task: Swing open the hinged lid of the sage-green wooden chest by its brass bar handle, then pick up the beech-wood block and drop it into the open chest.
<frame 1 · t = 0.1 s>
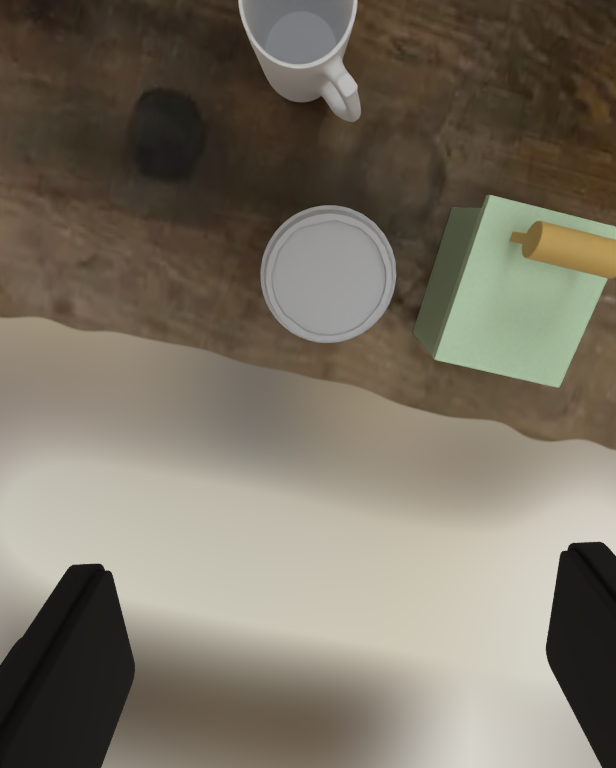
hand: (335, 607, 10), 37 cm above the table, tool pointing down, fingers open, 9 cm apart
lid: (539, 303, 34), point 11 cm above the table, hinge at 0.0°
mug: (313, 78, 39), on the table
chest: (485, 285, 45), on the table
disposable coffee cup: (324, 260, 44), on the table
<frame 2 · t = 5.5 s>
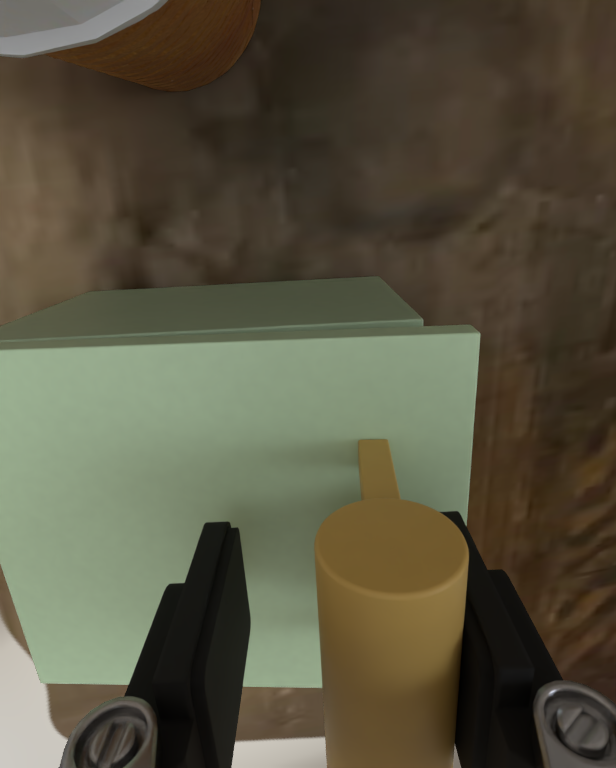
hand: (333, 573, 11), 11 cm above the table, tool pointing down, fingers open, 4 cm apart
lid: (198, 602, 11), point 11 cm above the table, hinge at 3.4°, touching gripper
chest: (246, 406, 21), on the table
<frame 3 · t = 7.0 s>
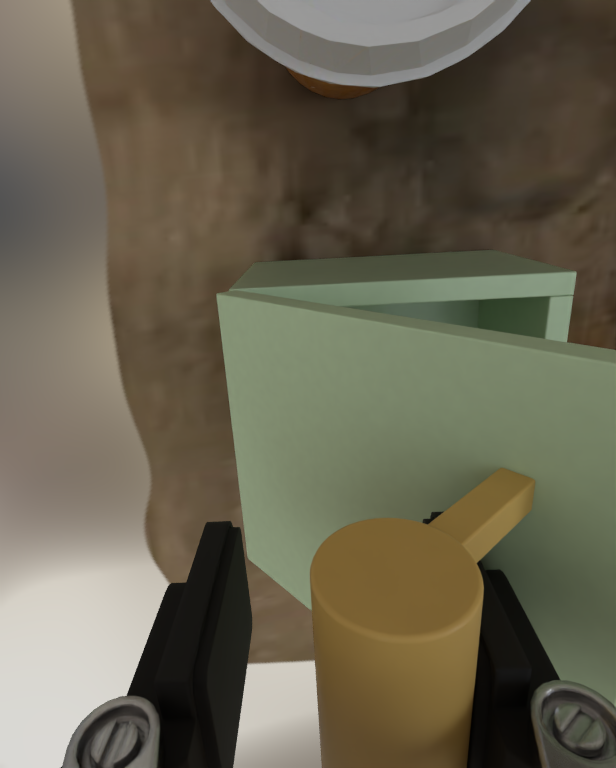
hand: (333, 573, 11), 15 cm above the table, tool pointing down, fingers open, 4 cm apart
lid: (306, 549, 12), point 15 cm above the table, hinge at 47.2°, touching gripper
chest: (373, 359, 25), on the table
disposable coffee cup: (343, 13, 20), on the table
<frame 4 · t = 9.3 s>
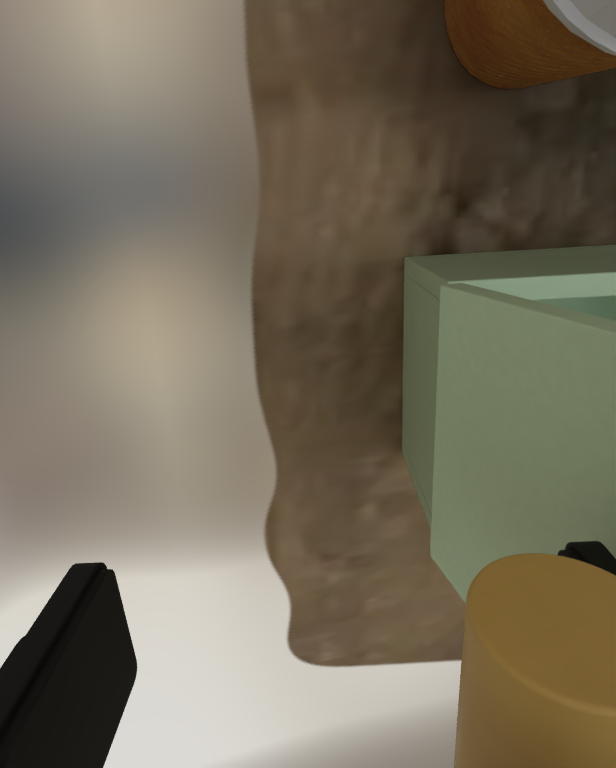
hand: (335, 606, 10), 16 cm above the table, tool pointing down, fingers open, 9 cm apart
lid: (485, 566, 11), point 15 cm above the table, hinge at 75.1°
chest: (515, 355, 25), on the table
disposable coffee cup: (520, 1, 20), on the table
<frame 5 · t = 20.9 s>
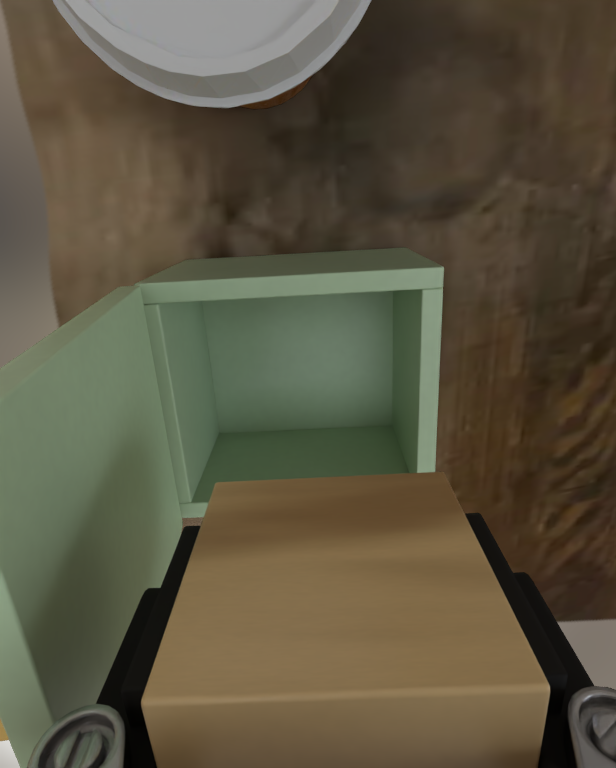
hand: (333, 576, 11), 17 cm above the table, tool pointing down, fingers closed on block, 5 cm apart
lid: (25, 518, 13), point 15 cm above the table, hinge at 81.6°, touching gripper
block: (333, 567, 11), point 17 cm above the table, touching gripper
chest: (301, 350, 27), on the table
disposable coffee cup: (255, 31, 22), on the table
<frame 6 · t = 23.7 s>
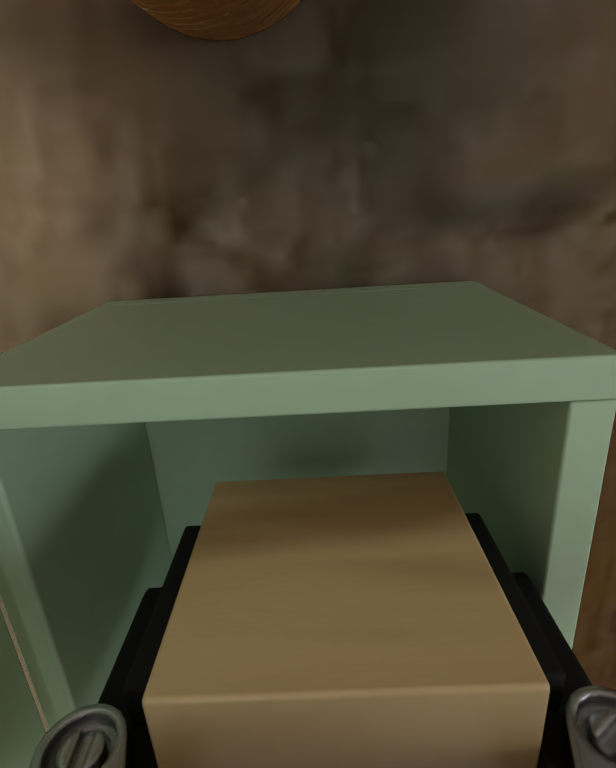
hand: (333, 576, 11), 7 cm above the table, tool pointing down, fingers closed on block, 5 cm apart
block: (333, 567, 11), point 6 cm above the table, touching gripper
chest: (299, 440, 17), on the table
when the fingers open (6 cm above the table, at t = 24.0 s): block drops 5 cm, resting on chest.
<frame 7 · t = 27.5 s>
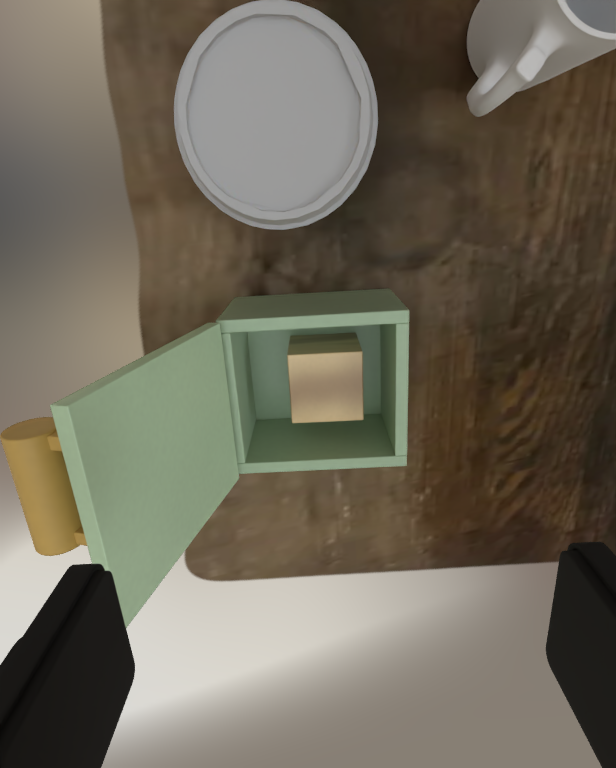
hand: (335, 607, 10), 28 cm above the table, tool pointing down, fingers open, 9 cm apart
lid: (130, 448, 25), point 14 cm above the table, hinge at 105.4°
block: (324, 365, 37), point 1 cm above the table, touching chest
mug: (495, 61, 31), on the table
chest: (315, 360, 38), on the table
disposable coffee cup: (286, 148, 33), on the table
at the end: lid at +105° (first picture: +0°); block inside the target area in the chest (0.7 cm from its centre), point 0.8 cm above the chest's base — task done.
